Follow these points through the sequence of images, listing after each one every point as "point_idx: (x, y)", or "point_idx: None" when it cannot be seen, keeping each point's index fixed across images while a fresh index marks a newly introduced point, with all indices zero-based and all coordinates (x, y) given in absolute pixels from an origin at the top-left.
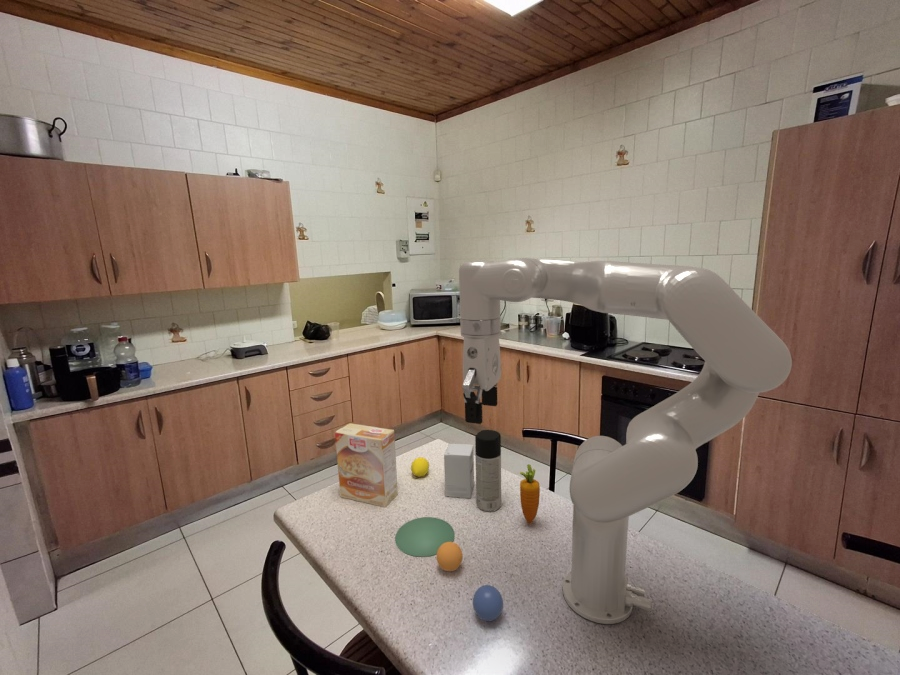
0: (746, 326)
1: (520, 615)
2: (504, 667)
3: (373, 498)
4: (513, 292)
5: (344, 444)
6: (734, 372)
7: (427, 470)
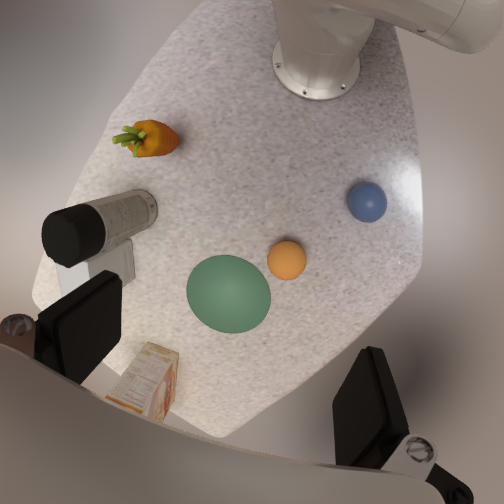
0: None
1: (359, 159)
2: (421, 183)
3: (174, 372)
4: None
5: None
6: None
7: None
